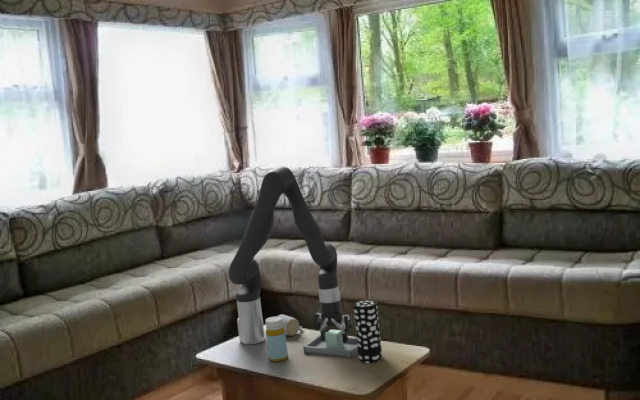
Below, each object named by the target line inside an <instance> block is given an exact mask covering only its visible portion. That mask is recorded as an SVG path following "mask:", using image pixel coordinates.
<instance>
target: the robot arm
mask: <svg viewBox="0 0 640 400" xmlns="http://www.w3.org/2000/svg"><path fill="white" fill-rule="evenodd" d="M282 194H284V195H285V197H286V198H287V200H288V202H289V205H290V207H291V211H292V215H293V220H294V224H295V227H296V229H297V230H298V232H299V233H300V235H301V238H303V240H304V241H305V243H306V247H307V249H308V252H309V255H310V257H311V259H312V260H313V262H314V263H315V264H316V265H317V266H319V270H318V271H319V272H318V274H317V283H318V295H319V305H320V311H318V312H316V313H315V314H314V315H313V316H314V318H313V319H314V329H315V330H318V331H319V332H320V335H321V339H322V341H326V338H325V333H327V330H326V328H327V327H336V328H337V330H341V332H342V340H343V343H346V342H347V340H348V336H349V332H350V331H352V330H353V325H352V321H351V319H352V318H351V315H350V314H343V312H342V302H341V293H340V288H339V281H338V274H337V273H338V271H337V270H338V253H337V249H336V248H335V246H333V245H332V244H330V243H325V241H324V239H323V231H322V229H321V228H320V226H319V224H318V223H317V222H316V219H315V218H314V216H313V215H312V213H311V211H310V209H309V207H308V204H307V202H306V201H305V198H304V195H303V193H302V191H301V189H300V185H299V184H298V181H297V179H296V176H295V175H294V173H293V172H292V170H291V169H290V168H288V167H286V166H279V167H276V168H274V169H272V170H269V171H268V172H266V173H265V174H264V177H263V179H262V183H261V186H260V190H259V193H258V198H257V201H256V204H255V205H254V208H253V210H252V212H251V213H252V214H251V216H250V218H249V221H248V224H247V227H246V229H245V231H244V234H243V237H242V239H241V241H240V244H239V246H238V247H239V248H238V249H237V251H236V253H235V255H234V257H233V259H232V260H231V263H230V266H229V267H228V279H229V280H230V282H231V283H232V284H234V285H237V286H238V285H239V286H240V285H241V287H239V288H240V289H238V291H237V292H236V293H235V299H236V305H237V313H238V315H237V316H238V318H237V320H236V322H237V331H238V339H239V342H240V343H242V344H243V345H257V344H260V343H262V342H264V341H266V340H265V339H266V334H265V329H264V327H265V326H264V319H263V311H262V305H261V295H260V294H261V289H262V288H261V287H262V286H261V273H260V272H261V271H260V266H259V264H258V262H257V260H256V259H255V256H256V255H257V254H258V253H259V252H260V251H261V250H262V249H263V247H264V246H265V245H266V243H267V242H268V240H269V238H270V237H271V233H272V231H273V228H274V226H275V215H274V214H275V213H274V211H275V208H276V206H277V202H278V201H279V198H281V196H282ZM320 312H321V313H320ZM322 320H323V322H322Z"/></svg>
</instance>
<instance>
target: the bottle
mask: <svg viewBox="0 0 640 400" xmlns="http://www.w3.org/2000/svg"><path fill="white" fill-rule="evenodd" d="M265 328H266V330H265V339H266V340H265V341H266V348H267V354H268V359H269V360H270V361H271V362H273V363H279V362H283V361H285V360H287V358H288V356H289V355H288V354H289V353H288V346H287V338H286V337H287V335H285V329H284V327H283V320H282V317H279V315H277V316H270V317H268V318H266V319H265Z"/></svg>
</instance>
